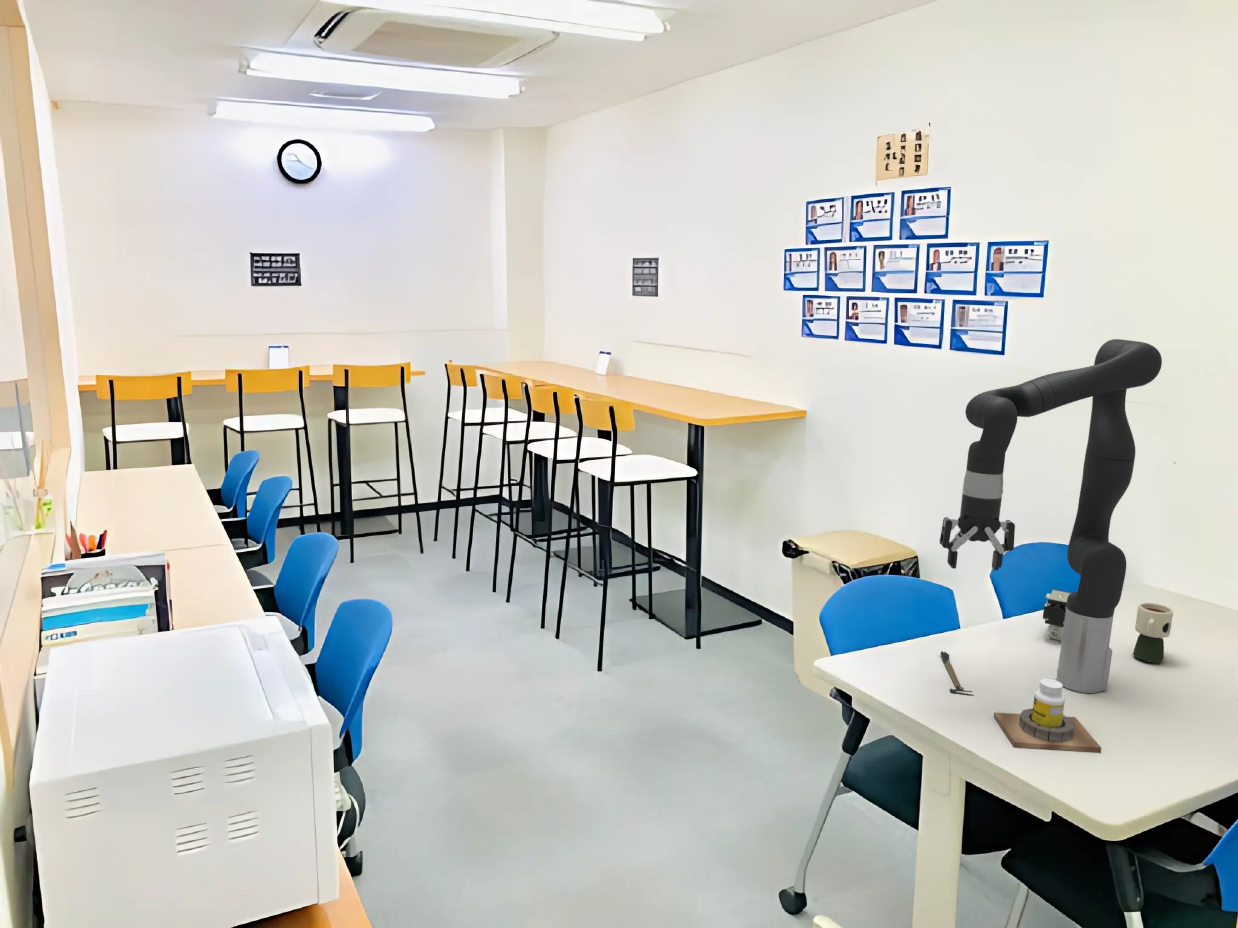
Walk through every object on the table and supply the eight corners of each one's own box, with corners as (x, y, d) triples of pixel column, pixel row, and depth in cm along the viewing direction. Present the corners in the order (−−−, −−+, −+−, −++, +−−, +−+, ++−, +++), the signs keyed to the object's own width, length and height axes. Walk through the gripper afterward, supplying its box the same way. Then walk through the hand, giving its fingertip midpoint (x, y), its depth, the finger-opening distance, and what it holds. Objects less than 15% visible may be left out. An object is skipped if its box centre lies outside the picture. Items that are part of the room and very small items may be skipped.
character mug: (1161, 671, 210) (1169, 617, 208) (1126, 662, 215) (1134, 610, 212) (1168, 656, 219) (1176, 604, 216) (1134, 648, 223) (1142, 597, 220)
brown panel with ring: (1074, 721, 186) (1076, 707, 185) (1100, 752, 174) (1102, 737, 173) (993, 716, 187) (995, 703, 186) (1013, 746, 175) (1015, 732, 174)
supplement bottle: (1024, 722, 183) (1030, 676, 180) (1050, 721, 183) (1057, 676, 181) (1039, 736, 177) (1046, 689, 175) (1066, 735, 178) (1073, 688, 176)
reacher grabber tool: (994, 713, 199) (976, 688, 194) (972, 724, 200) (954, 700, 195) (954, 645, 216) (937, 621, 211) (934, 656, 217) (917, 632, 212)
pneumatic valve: (1068, 632, 232) (1075, 587, 229) (1062, 647, 222) (1068, 600, 220) (1045, 627, 235) (1050, 582, 232) (1037, 642, 225) (1043, 595, 223)
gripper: (1011, 489, 190) (1002, 564, 194) (941, 486, 191) (934, 561, 195) (1024, 498, 183) (1015, 576, 187) (951, 495, 184) (943, 572, 188)
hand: (973, 568), depth 191 cm, fingers open, 8 cm apart
